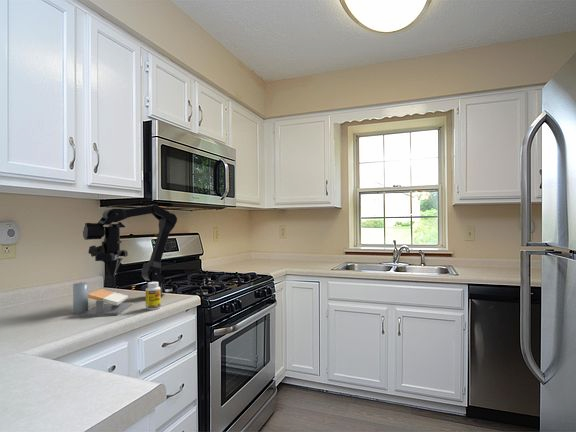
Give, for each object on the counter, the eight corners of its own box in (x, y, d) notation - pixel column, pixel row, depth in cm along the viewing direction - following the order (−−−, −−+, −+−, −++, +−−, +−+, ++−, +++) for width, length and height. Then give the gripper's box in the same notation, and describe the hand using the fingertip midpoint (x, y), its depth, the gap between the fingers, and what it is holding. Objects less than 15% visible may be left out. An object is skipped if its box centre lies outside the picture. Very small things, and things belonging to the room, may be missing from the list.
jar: (77, 310, 133) (77, 282, 133) (90, 309, 133) (90, 281, 133) (70, 313, 128) (70, 284, 128) (84, 313, 128) (84, 284, 128)
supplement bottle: (147, 311, 130) (146, 284, 130) (144, 308, 134) (144, 282, 134) (162, 308, 133) (162, 282, 133) (159, 305, 137) (158, 280, 138)
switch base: (99, 306, 139) (99, 292, 139) (132, 304, 140) (132, 291, 140) (80, 317, 123) (80, 301, 123) (117, 315, 124) (117, 300, 124)
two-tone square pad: (100, 293, 137) (101, 288, 137) (127, 300, 138) (128, 295, 138) (85, 300, 125) (87, 294, 125) (115, 307, 126) (117, 302, 126)
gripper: (101, 238, 150) (101, 273, 150) (80, 240, 131) (81, 280, 131) (127, 237, 151) (128, 272, 151) (110, 239, 133) (111, 279, 132)
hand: (112, 275), depth 141 cm, fingers closed
